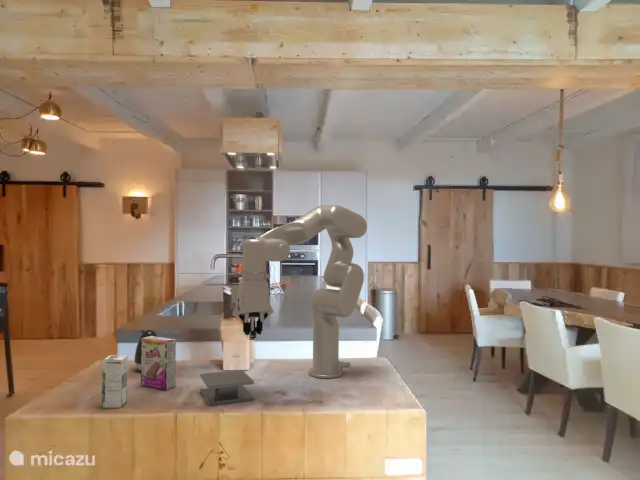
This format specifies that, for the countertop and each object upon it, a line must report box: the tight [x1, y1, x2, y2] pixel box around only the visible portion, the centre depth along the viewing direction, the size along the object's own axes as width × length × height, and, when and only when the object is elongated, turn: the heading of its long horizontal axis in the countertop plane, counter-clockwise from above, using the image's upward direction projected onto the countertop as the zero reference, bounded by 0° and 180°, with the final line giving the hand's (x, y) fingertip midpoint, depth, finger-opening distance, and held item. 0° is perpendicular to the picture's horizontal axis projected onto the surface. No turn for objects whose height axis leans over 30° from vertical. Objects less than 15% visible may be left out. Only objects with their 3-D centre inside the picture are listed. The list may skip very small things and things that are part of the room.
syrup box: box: [101, 354, 128, 409], centre depth 157 cm, size 6×6×14 cm
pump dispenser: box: [133, 329, 159, 372], centre depth 196 cm, size 10×10×15 cm
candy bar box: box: [140, 336, 177, 391], centre depth 175 cm, size 11×5×16 cm, turn 65°
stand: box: [199, 369, 255, 407], centre depth 166 cm, size 14×14×6 cm
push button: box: [246, 312, 260, 341], centre depth 168 cm, size 7×5×10 cm
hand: (252, 333), depth 168 cm, fingers closed on push button, 3 cm apart
